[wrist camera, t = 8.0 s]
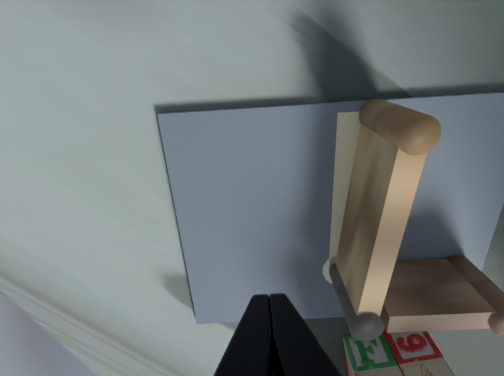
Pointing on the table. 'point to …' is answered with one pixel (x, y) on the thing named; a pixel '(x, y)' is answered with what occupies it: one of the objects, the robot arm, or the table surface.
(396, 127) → the folding fence panel
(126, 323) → the table surface
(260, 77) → the table surface
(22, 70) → the table surface
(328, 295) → the board
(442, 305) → the fixed fence section
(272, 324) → the robot arm
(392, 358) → the stack of blocks
